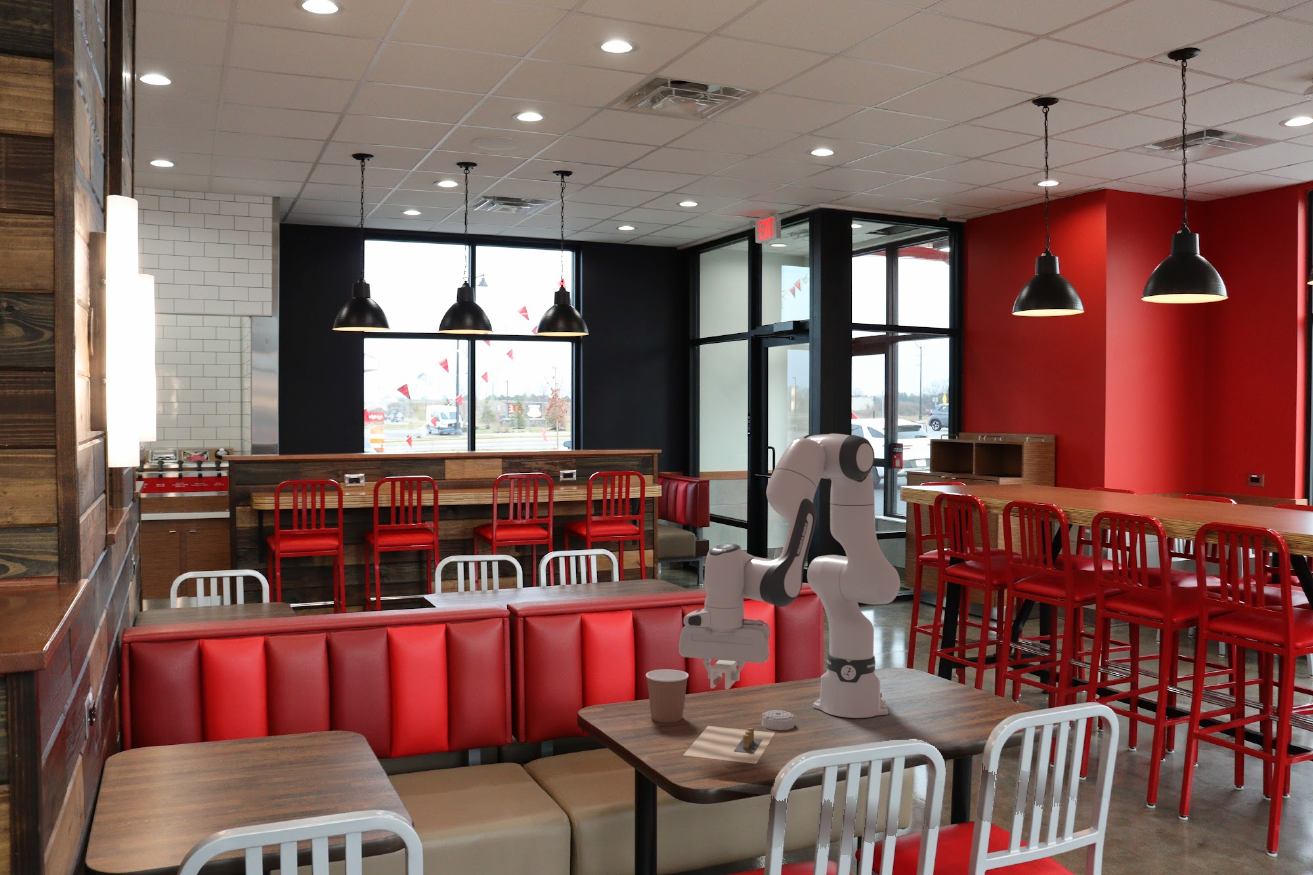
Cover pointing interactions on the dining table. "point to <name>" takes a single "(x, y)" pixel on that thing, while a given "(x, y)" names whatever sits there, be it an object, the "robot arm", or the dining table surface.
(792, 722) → the mechanical component
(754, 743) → the board
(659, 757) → the dining table surface
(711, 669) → the box
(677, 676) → the coffee cup
